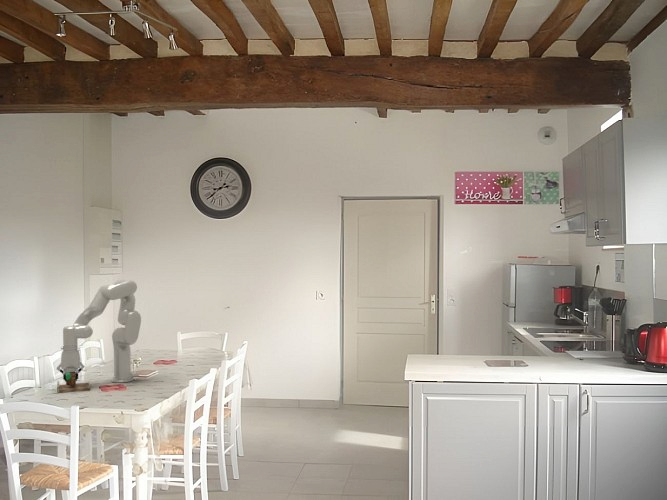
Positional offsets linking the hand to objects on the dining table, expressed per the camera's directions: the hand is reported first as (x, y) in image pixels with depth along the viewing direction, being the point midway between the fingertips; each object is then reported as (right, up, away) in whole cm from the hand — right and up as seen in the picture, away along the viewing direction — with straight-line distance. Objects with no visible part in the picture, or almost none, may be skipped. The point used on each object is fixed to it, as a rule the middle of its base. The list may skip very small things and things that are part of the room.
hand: (70, 380), depth 393 cm
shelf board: (+2, -5, +1) cm, 5 cm away
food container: (0, -2, 0) cm, 2 cm away
